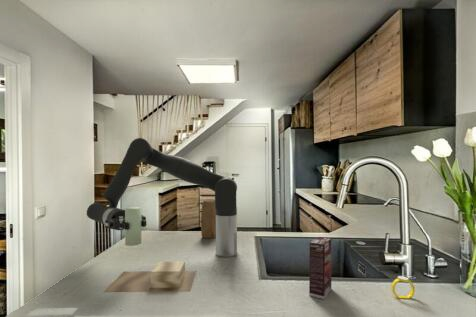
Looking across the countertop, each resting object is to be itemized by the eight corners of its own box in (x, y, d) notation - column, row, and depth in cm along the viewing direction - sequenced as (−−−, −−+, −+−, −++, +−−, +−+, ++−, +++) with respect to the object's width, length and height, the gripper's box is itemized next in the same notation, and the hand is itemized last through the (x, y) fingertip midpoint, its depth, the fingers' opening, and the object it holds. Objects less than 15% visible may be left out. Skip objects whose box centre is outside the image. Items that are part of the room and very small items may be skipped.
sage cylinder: (143, 241, 99) (143, 206, 99) (138, 245, 94) (138, 209, 94) (128, 241, 99) (128, 207, 99) (122, 245, 93) (122, 209, 94)
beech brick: (184, 276, 97) (184, 261, 97) (179, 287, 88) (179, 271, 88) (158, 276, 97) (158, 261, 97) (150, 287, 88) (150, 271, 88)
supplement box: (325, 300, 82) (324, 244, 82) (308, 295, 84) (308, 242, 85) (332, 288, 89) (332, 238, 90) (317, 285, 92) (316, 236, 92)
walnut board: (196, 274, 101) (196, 271, 101) (189, 295, 85) (189, 291, 85) (123, 275, 101) (123, 271, 101) (103, 296, 85) (103, 291, 85)
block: (213, 239, 148) (213, 201, 149) (200, 238, 150) (199, 200, 150) (218, 234, 159) (218, 198, 159) (205, 233, 160) (205, 198, 161)
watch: (410, 297, 84) (412, 277, 84) (415, 301, 81) (416, 280, 82) (389, 294, 85) (390, 274, 85) (393, 299, 82) (395, 278, 82)
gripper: (96, 210, 101) (115, 216, 89) (134, 206, 112) (156, 211, 100) (96, 231, 101) (115, 240, 89) (134, 225, 111) (156, 232, 99)
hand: (136, 225), depth 94 cm, fingers closed on sage cylinder, 5 cm apart
